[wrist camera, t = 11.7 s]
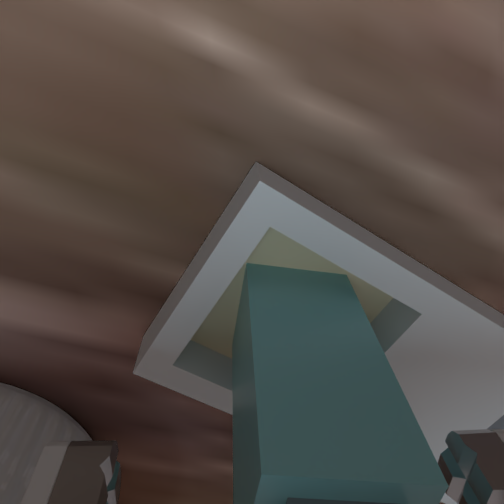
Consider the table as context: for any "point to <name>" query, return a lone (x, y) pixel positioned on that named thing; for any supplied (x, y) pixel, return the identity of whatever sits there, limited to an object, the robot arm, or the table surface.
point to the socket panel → (370, 297)
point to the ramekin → (28, 437)
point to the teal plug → (319, 400)
